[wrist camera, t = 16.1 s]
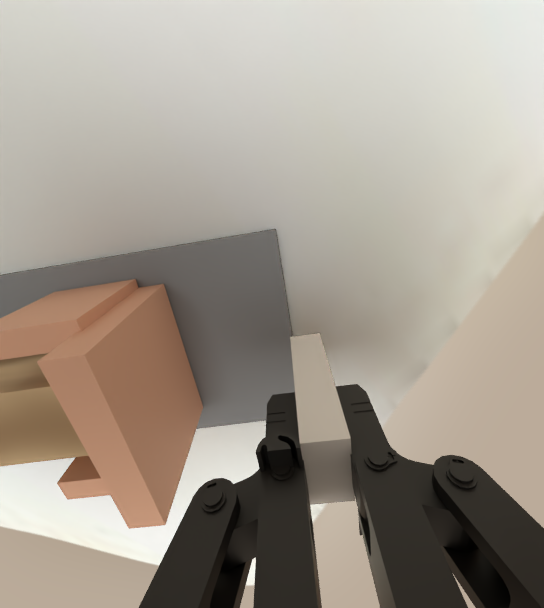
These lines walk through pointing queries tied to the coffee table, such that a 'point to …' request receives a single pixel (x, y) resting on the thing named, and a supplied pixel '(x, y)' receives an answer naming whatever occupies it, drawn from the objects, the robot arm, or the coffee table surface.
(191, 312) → the seat
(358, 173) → the coffee table surface
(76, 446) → the tan wooden block
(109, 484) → the endcap
